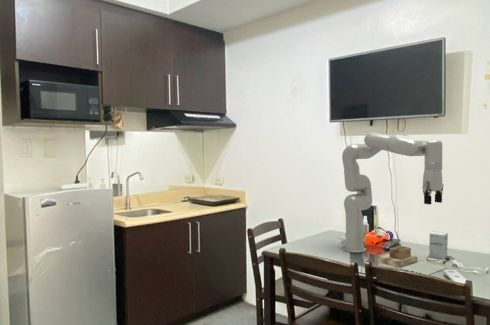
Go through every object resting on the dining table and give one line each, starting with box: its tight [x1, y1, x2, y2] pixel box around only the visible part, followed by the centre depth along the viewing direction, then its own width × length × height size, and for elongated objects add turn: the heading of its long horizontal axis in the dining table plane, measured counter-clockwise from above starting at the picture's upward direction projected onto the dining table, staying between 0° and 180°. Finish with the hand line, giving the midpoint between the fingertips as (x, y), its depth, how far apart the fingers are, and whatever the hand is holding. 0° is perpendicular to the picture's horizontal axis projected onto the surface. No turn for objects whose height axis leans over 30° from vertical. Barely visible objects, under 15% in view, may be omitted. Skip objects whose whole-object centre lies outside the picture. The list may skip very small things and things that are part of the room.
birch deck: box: [375, 251, 418, 269], centre depth 194 cm, size 14×14×3 cm
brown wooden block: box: [389, 245, 412, 260], centre depth 193 cm, size 6×9×4 cm, turn 127°
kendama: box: [385, 230, 394, 240], centre depth 238 cm, size 6×6×20 cm
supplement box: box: [428, 231, 449, 260], centre depth 203 cm, size 7×7×13 cm
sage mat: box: [399, 261, 447, 276], centre depth 183 cm, size 13×18×1 cm
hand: (433, 203), depth 182 cm, fingers open, 9 cm apart
